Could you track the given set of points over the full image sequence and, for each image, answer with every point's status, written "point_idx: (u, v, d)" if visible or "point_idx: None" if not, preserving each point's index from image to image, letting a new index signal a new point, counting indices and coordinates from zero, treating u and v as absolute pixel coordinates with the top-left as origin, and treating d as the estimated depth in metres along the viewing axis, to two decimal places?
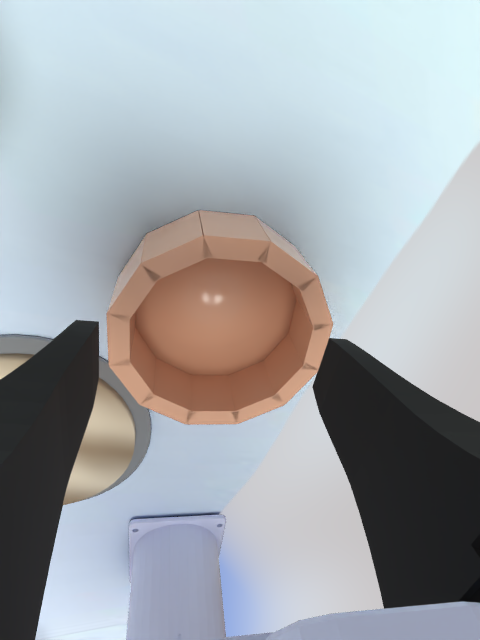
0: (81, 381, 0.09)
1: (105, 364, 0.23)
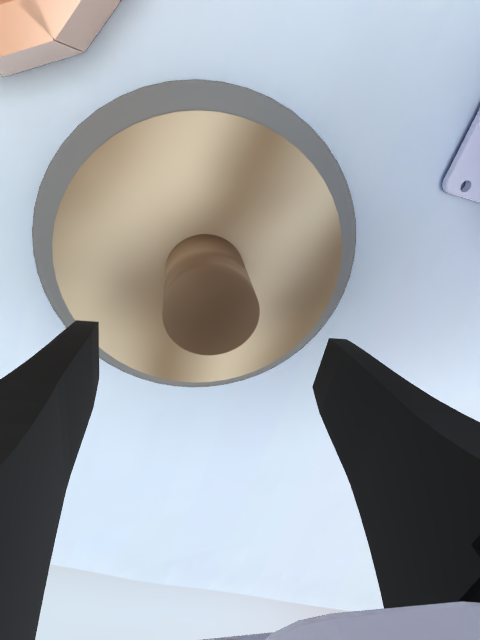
0: (81, 381, 0.09)
1: (82, 122, 0.15)
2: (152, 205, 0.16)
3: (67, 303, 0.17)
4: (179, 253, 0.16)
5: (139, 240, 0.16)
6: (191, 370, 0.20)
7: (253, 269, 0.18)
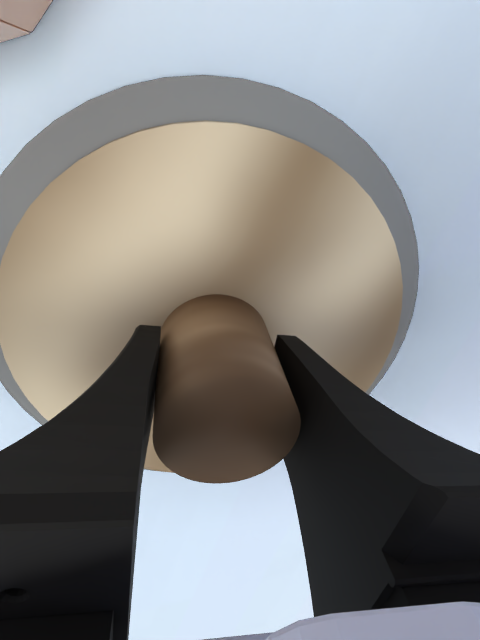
0: (153, 384, 0.10)
1: (32, 139, 0.10)
2: (139, 257, 0.11)
3: (22, 387, 0.12)
4: (178, 328, 0.11)
5: (121, 304, 0.11)
6: None
7: None
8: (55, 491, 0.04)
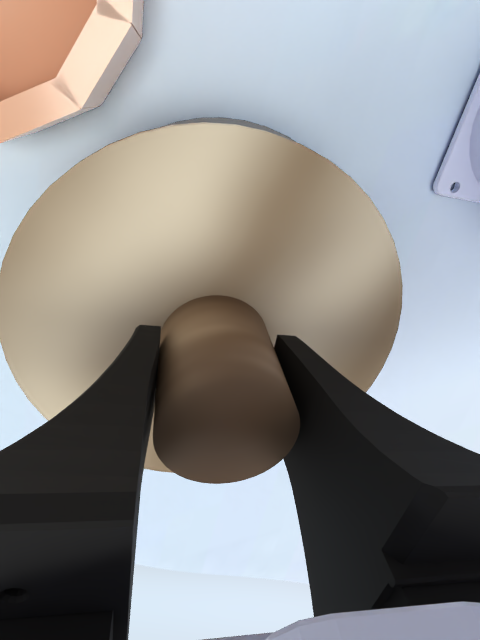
0: (153, 384, 0.10)
1: None
2: (139, 259, 0.11)
3: (24, 389, 0.13)
4: (178, 329, 0.11)
5: (121, 306, 0.12)
6: None
7: None
8: (55, 490, 0.04)
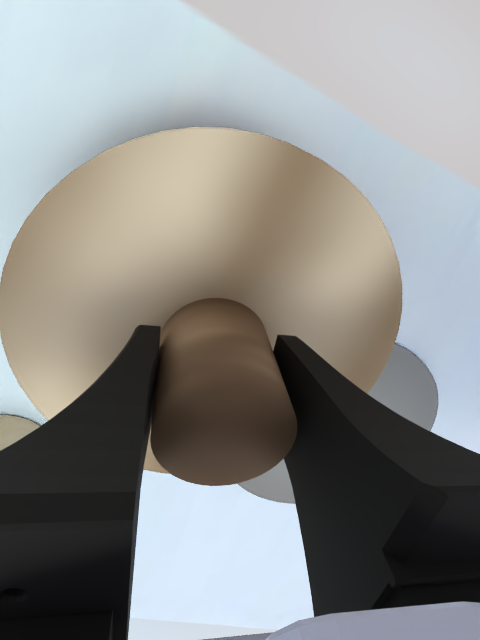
0: (153, 384, 0.10)
1: None
2: (136, 264, 0.11)
3: (28, 393, 0.13)
4: (176, 332, 0.11)
5: (121, 310, 0.12)
6: None
7: None
8: (54, 490, 0.04)
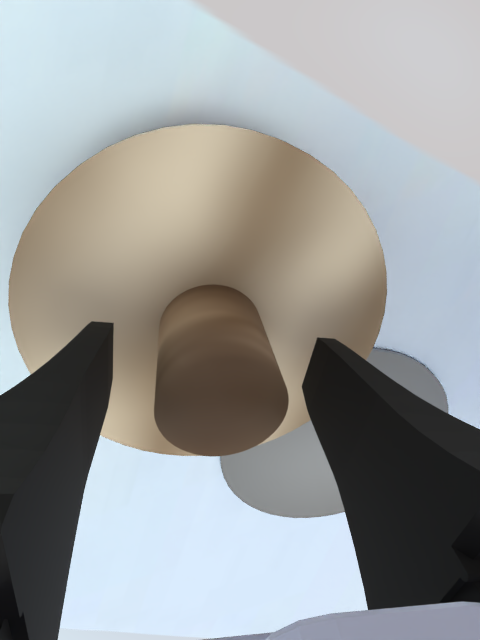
0: (98, 382, 0.09)
1: None
2: (138, 252, 0.12)
3: None
4: (176, 316, 0.12)
5: (123, 297, 0.12)
6: None
7: (272, 323, 0.14)
8: None
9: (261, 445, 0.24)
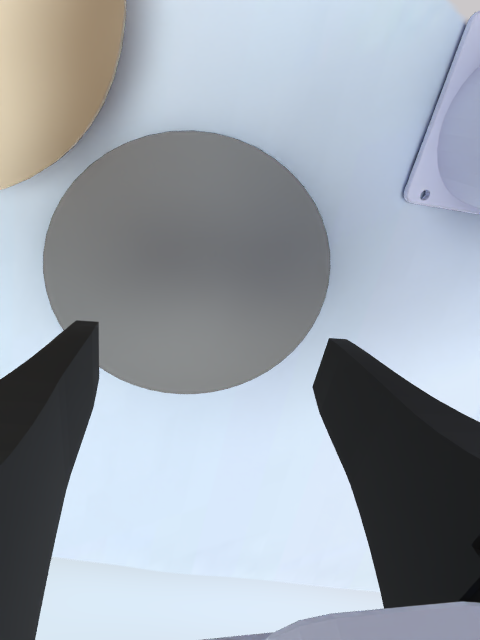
0: (81, 381, 0.09)
1: (77, 178, 0.17)
2: None
3: None
4: None
5: None
6: None
7: None
8: None
9: (95, 275, 0.19)
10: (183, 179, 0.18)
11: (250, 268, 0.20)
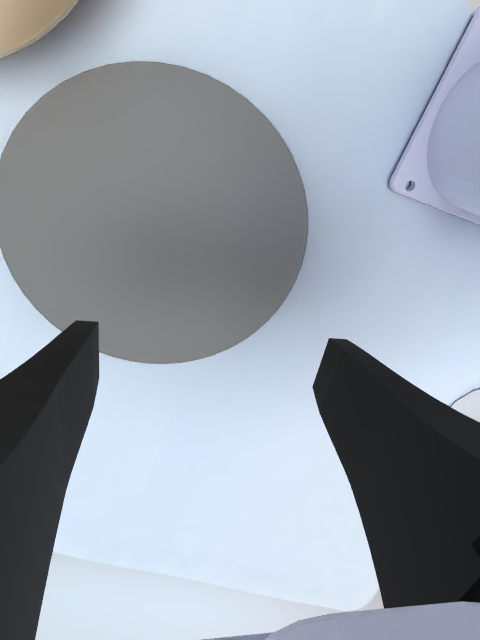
0: (81, 381, 0.09)
1: (47, 93, 0.15)
2: None
3: None
4: None
5: None
6: None
7: None
8: None
9: (53, 209, 0.18)
10: (165, 118, 0.16)
11: (223, 232, 0.19)
